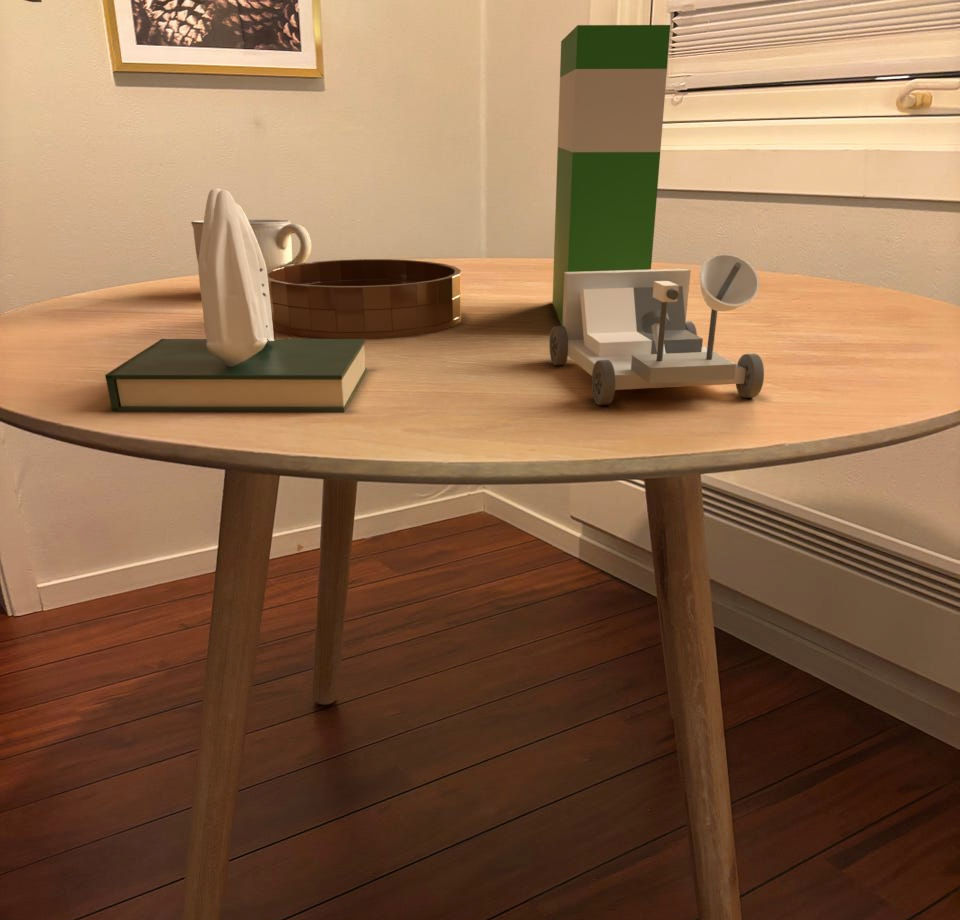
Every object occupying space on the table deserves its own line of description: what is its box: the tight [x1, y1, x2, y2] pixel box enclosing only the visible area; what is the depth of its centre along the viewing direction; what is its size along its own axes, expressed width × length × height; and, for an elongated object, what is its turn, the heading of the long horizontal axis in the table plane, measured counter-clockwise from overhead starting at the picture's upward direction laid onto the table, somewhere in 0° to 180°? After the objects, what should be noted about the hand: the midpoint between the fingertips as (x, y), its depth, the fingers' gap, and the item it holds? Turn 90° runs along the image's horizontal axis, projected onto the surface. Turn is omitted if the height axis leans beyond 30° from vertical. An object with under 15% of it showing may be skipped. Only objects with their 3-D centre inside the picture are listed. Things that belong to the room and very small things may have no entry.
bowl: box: [267, 258, 463, 340], centre depth 93 cm, size 19×19×4 cm
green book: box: [104, 338, 368, 413], centre depth 69 cm, size 16×12×2 cm
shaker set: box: [197, 187, 275, 367], centre depth 66 cm, size 12×4×11 cm, turn 8°
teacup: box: [190, 219, 312, 270], centre depth 106 cm, size 14×11×8 cm
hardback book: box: [552, 24, 671, 326], centre depth 89 cm, size 18×7×24 cm, turn 0°
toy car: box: [548, 252, 765, 406], centre depth 68 cm, size 18×10×12 cm
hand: (113, 1), depth 75 cm, fingers open, 13 cm apart
